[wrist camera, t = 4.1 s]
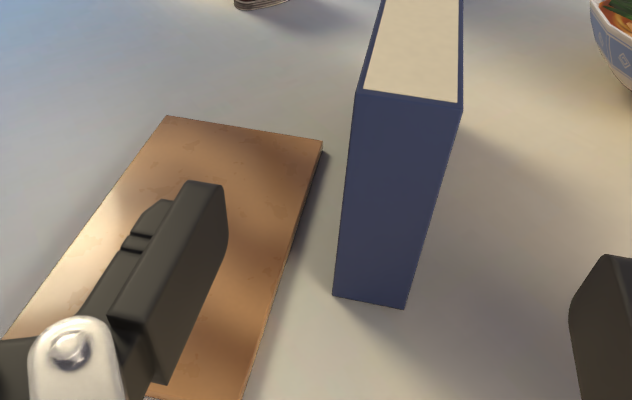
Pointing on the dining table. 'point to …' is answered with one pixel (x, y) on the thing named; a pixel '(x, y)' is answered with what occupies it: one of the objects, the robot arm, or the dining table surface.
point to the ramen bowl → (614, 35)
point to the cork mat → (240, 258)
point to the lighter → (256, 4)
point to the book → (399, 147)
